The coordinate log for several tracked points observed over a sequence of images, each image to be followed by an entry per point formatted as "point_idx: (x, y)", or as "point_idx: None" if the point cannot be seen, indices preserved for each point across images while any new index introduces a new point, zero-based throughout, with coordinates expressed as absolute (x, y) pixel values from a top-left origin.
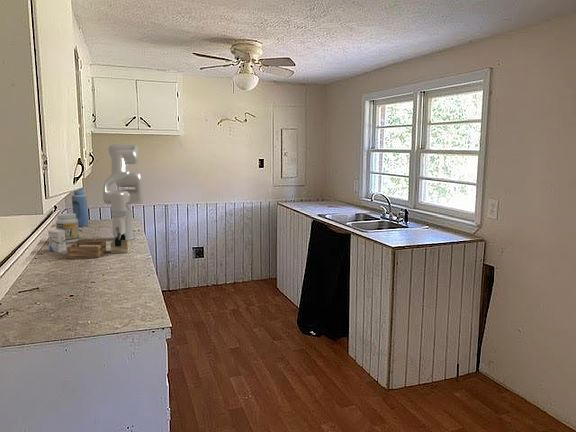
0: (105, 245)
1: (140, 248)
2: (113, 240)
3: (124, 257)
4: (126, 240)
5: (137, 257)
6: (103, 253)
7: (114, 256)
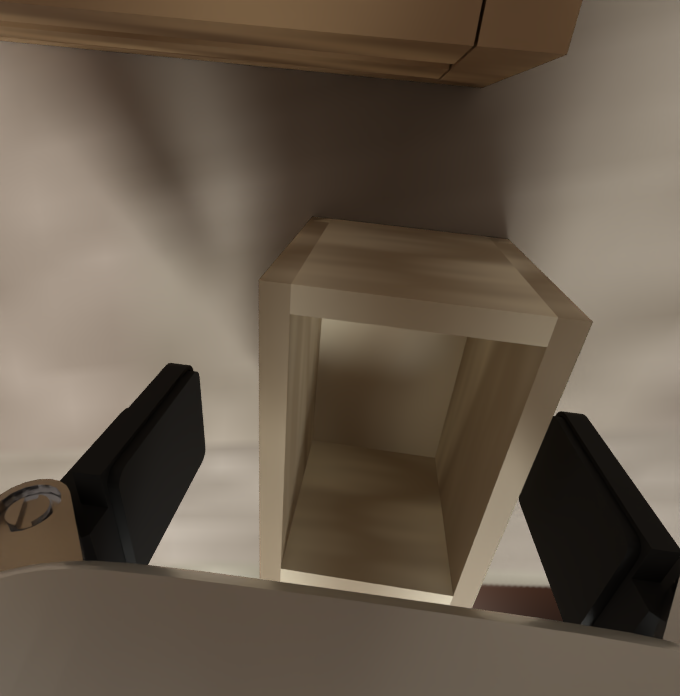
0: (471, 68)
1: (524, 549)
2: (575, 323)
3: (69, 415)
4: (461, 567)
5: None
6: (275, 67)
7: (104, 297)
